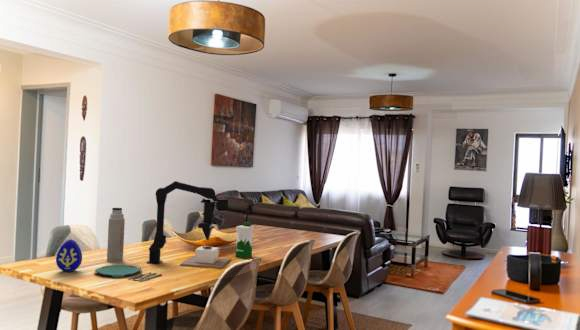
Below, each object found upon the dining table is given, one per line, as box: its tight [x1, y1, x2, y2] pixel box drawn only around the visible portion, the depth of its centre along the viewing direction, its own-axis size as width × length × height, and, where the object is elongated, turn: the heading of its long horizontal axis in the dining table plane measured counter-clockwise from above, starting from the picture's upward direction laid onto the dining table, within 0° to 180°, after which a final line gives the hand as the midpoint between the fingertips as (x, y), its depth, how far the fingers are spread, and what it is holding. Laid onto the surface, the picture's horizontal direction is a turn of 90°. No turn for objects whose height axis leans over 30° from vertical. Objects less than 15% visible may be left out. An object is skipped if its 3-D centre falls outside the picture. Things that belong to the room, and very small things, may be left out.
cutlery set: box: [94, 264, 163, 283], centre depth 220 cm, size 20×30×2 cm, turn 65°
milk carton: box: [234, 221, 255, 259], centre depth 274 cm, size 9×9×20 cm
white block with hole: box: [194, 245, 219, 263], centre depth 253 cm, size 10×10×7 cm
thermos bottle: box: [106, 207, 126, 263], centre depth 248 cm, size 8×8×28 cm
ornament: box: [55, 239, 83, 273], centre depth 221 cm, size 11×9×15 cm
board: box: [179, 255, 232, 269], centre depth 253 cm, size 22×22×1 cm
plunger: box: [202, 245, 213, 249], centre depth 253 cm, size 5×5×7 cm
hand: (207, 239), depth 253 cm, fingers closed
